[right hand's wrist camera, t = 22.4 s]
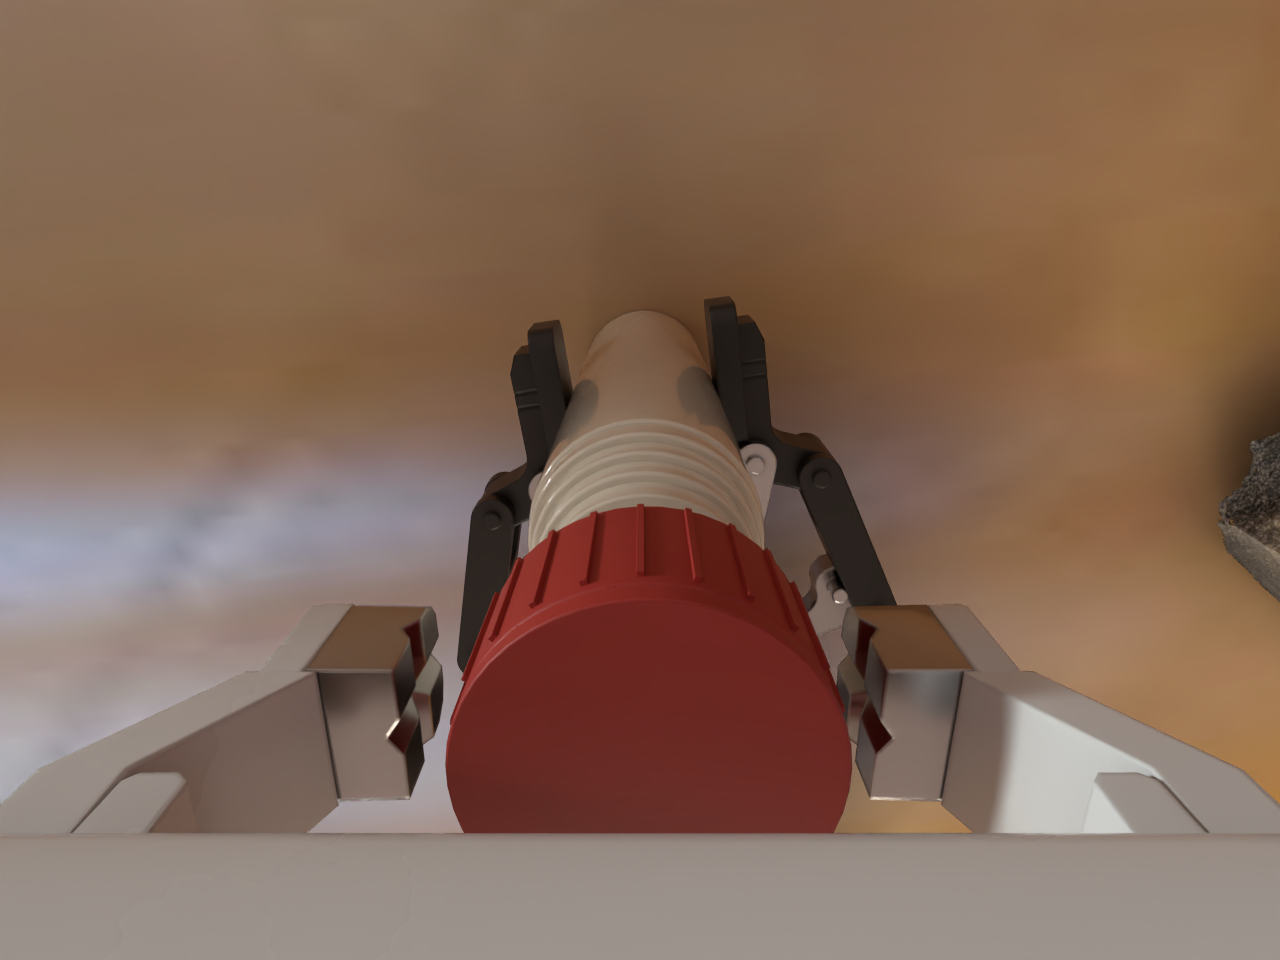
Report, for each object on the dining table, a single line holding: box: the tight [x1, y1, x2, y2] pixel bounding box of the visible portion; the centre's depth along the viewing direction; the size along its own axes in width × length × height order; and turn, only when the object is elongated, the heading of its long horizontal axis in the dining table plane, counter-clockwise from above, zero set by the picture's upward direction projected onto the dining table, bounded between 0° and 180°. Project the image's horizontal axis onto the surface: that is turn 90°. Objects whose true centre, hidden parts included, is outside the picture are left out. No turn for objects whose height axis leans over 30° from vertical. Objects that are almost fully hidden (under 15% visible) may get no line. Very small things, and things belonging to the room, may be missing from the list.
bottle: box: [528, 311, 765, 552], centre depth 18 cm, size 4×4×20 cm
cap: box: [445, 504, 852, 833], centre depth 9 cm, size 4×4×2 cm
